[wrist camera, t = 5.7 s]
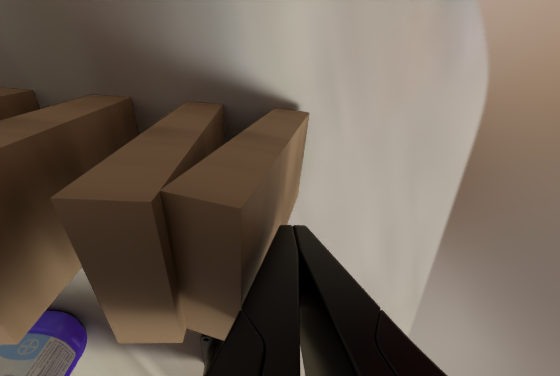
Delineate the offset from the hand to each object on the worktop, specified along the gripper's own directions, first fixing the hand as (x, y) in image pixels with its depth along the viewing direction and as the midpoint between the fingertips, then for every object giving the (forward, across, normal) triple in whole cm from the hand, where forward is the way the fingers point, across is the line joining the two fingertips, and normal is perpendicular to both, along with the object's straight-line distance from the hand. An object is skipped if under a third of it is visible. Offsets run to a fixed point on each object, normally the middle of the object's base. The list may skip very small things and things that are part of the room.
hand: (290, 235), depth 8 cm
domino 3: (+7, 0, 0) cm, 7 cm away
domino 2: (+7, +4, 0) cm, 8 cm away
